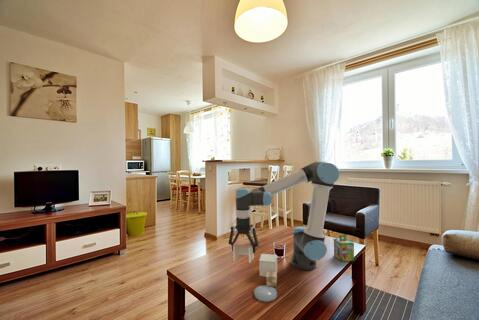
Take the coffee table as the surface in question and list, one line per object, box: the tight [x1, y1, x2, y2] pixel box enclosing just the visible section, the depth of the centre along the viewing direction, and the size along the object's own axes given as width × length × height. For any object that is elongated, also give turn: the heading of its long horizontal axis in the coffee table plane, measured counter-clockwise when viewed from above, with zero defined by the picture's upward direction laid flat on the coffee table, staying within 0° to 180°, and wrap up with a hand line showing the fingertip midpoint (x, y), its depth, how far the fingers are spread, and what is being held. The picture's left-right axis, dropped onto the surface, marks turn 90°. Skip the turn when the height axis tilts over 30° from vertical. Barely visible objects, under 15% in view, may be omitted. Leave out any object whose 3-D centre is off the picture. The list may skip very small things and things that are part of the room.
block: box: [266, 271, 278, 288], centre depth 113 cm, size 5×5×5 cm
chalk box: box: [333, 234, 355, 262], centre depth 140 cm, size 9×9×15 cm
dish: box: [253, 284, 278, 303], centre depth 104 cm, size 11×11×1 cm
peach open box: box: [232, 238, 252, 264], centre depth 117 cm, size 9×9×9 cm
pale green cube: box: [258, 253, 278, 277], centre depth 124 cm, size 9×9×9 cm
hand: (243, 257), depth 117 cm, fingers closed on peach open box, 9 cm apart
